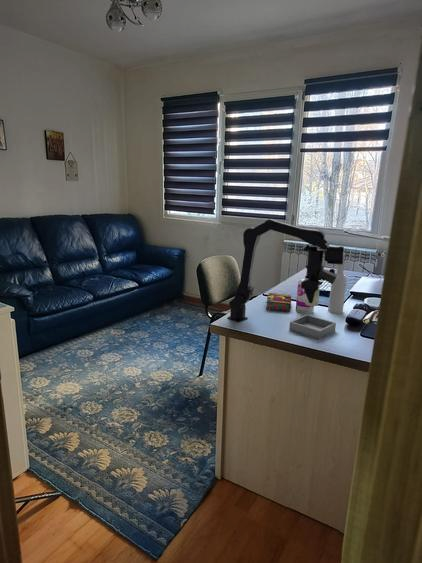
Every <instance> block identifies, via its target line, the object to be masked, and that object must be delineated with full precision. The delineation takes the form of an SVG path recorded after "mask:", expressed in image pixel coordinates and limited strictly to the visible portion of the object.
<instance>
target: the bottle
mask: <svg viewBox="0 0 422 563" xmlns="http://www.w3.org/2000/svg"><path fill="white" fill-rule="evenodd" d="M343 254H344V257H343V265H340V264H337V269H336V272H335V274H337V277H336V279H335V281H334V283H333V284H331V285H330V291H329V292H330V293H329V297H328V298H329V299H328V308H327V311H328V312H329V313H332V314H338V315H339V314H342V313H343V312H344V306H345V304H344V303H345V295H346V286H347V277H346V276H345V274H344V269H345V268H344V264H345V257H346V256H345V255H346V252H344V251H343Z"/></svg>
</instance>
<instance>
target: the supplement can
mask: <svg viewBox="0 0 422 563" xmlns="http://www.w3.org/2000/svg"><path fill="white" fill-rule="evenodd" d="M304 280H305V278H302V277H301V278H299V280H298V282H297V291H296V300H295V301H296V302H295V310H296V311H297V312H298V313H301V314H312V313H313V312H314V311H315V310H314V309H315V306H308V305H306V304H305V300H306V293H305V291H304V288H301V283H302V282H303V281H304Z"/></svg>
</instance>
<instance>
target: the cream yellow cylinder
mask: <svg viewBox="0 0 422 563" xmlns="http://www.w3.org/2000/svg"><path fill="white" fill-rule="evenodd" d="M319 301H320V288H319V289H318V290H317V291H315V295H314V299H313V302H312V303H309V301H308V298H307V296H306V300H305V304H306V305H308V306H314V307H319Z"/></svg>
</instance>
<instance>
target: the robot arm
mask: <svg viewBox="0 0 422 563" xmlns="http://www.w3.org/2000/svg"><path fill="white" fill-rule="evenodd" d="M270 230H271V231H273V232H278V233H281V234H283V235H284V234H285V235H287V236H290V237H294V238H297V239H300V240H301V241H303V242H304V243H306V244H307V245H306V246H305V247H304V248H302V251H303V252H307V258H306V259H307V261H306V262H307V263H306V265H305V268H306V274H305V276H304V277H305V280H304V281H303V282H302V283H301V288H304V291H305V293H306V296H307V298H308V301H309V303H312V302H313V299H314V295H315V291H317V290H318V289H319V290H320V288H321V287H320V286H321V285H323V283H324V281H326V282H328V284H333V283H334V281H335V279H336V277H337V274H336V269H334V268H330V269H329V270H328V269H324V268H325V267H324V264H323V261H324V262H326V263H327V264H330V265H338V264H340V265H343V257H344V254H343V252H344V248H345V247H344V245H343V246H341V245H339V246H334V245H331V246H330V244H329V243H328V241H327V240H326V234H325V232H324V231H323V230H321V229H318V228H317V229H316V228H304V227H300V226H296V225H293V224H288V223H286V222H282V221H278V220H275V219H273V218H269V219H267V220H265V221H264V222H263V223H261V224H258V225H257V226H252V227H248V228H246V229H245V230H244V232H243V233H242V234H243V235H242V236H243V239H242V240H243V242H242V243H243V248H244V252H243V259H242V266H241V273H240V281H239V283H238V286H237V288H236V290H235V294H234V297H233V298H232V299H231V300H230V301H229V302H228V304H229V307H230V314H229V316H227V319H228V320H232V321H233V322H234V321H235V322H237V323H240V322H242V321H244V320H248V317H247V316H246V309H247V308H246V307H247V306H246V304H247V303H248V301H249V300H250V299H251V298H252V297H253V296H254V293H253V292H254V288H255V286H253V285H252V284H251V280H252V279H251V278H252V273H253V266H254V265H253V264H254V261H255V253H256V250H257V247H258V244H259V243H260V240H261V237H262V235H264V234H266V233H268V232H269V231H270ZM323 259H324V260H323Z"/></svg>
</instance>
